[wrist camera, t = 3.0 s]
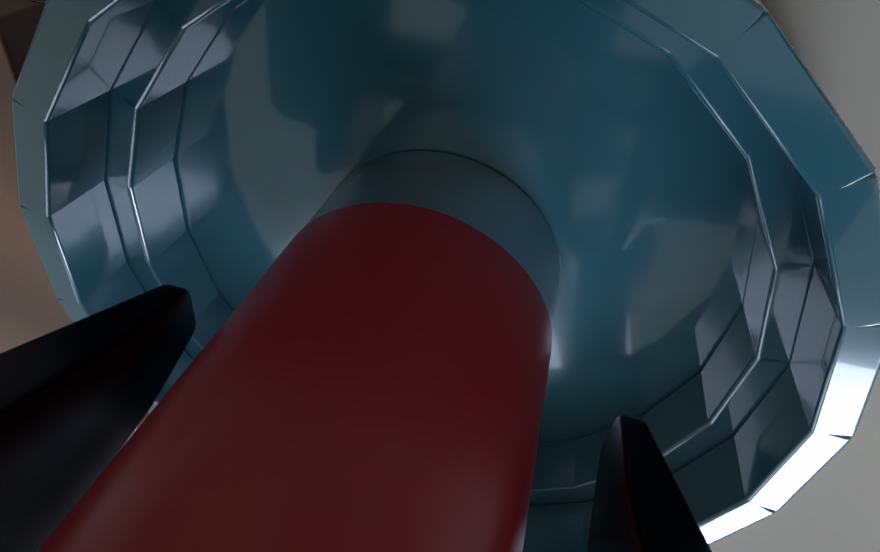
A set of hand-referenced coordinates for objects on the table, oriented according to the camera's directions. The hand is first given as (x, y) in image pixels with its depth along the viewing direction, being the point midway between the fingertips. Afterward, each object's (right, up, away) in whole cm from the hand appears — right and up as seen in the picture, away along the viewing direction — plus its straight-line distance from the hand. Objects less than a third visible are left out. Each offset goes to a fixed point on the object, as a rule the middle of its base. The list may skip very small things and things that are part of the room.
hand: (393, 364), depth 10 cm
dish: (+1, +2, +3) cm, 3 cm away
